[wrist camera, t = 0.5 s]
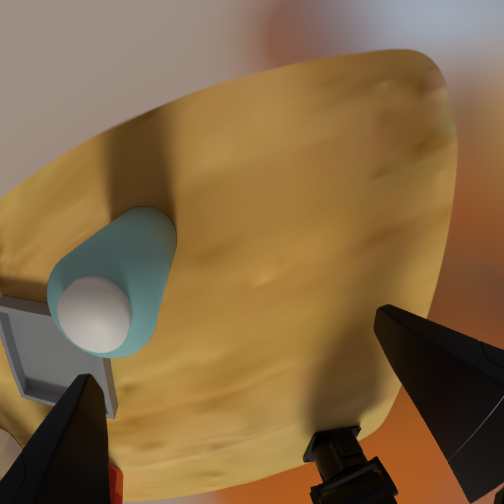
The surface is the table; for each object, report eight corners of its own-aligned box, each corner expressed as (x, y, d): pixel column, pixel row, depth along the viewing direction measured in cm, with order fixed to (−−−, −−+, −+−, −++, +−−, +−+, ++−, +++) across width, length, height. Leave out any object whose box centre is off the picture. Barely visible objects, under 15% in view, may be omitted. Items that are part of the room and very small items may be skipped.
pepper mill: (175, 274, 22) (155, 378, 11) (112, 268, 21) (48, 361, 10) (179, 209, 21) (154, 264, 10) (113, 204, 20) (29, 251, 9)
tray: (117, 405, 25) (114, 419, 23) (28, 385, 23) (21, 396, 21) (104, 312, 22) (98, 323, 20) (3, 295, 20) (-8, 304, 18)
